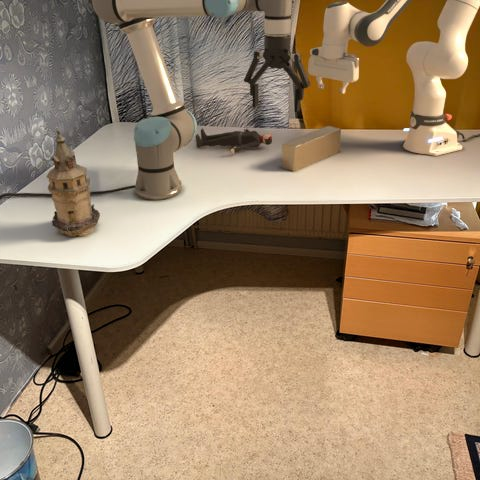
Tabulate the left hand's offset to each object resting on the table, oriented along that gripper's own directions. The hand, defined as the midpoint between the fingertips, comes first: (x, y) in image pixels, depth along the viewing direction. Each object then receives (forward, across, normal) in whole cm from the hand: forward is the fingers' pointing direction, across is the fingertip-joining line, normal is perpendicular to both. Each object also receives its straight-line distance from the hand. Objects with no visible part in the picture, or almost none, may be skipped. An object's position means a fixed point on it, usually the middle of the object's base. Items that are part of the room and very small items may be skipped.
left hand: (276, 108), depth 163 cm
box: (+28, -2, -33) cm, 43 cm away
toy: (+28, +31, -35) cm, 54 cm away
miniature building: (+28, +43, +47) cm, 69 cm away
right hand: (+4, -5, -42) cm, 43 cm away
